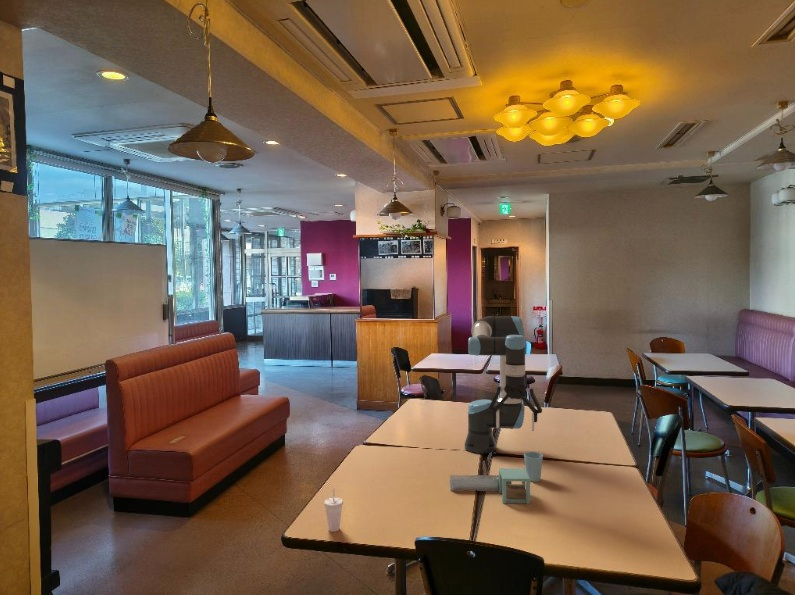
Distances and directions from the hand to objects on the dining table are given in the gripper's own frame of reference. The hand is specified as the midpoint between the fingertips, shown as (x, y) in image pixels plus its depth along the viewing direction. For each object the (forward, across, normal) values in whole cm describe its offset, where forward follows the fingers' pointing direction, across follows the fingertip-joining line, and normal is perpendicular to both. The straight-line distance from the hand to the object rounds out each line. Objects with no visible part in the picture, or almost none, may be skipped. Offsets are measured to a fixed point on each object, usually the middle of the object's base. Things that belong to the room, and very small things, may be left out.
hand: (515, 428), depth 204 cm
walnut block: (+25, 0, -6) cm, 26 cm away
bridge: (+25, 0, -6) cm, 26 cm away
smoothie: (+25, -55, -50) cm, 78 cm away
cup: (+25, +6, +14) cm, 29 cm away
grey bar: (+25, -13, -2) cm, 29 cm away
